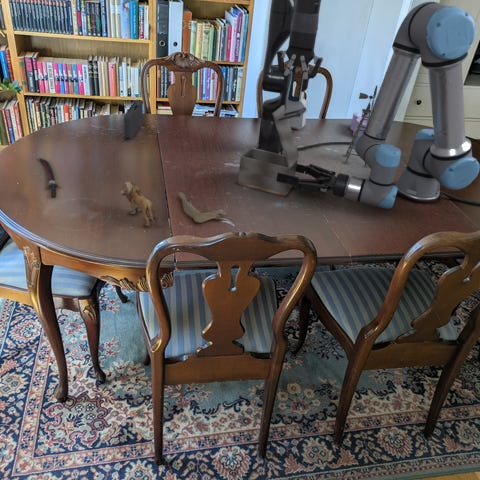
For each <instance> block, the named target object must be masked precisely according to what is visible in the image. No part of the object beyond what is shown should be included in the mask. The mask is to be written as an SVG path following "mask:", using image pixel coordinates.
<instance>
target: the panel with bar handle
mask: <svg viewBox="0 0 480 480" xmlns="http://www.w3.org/2000/svg"><path fill="white" fill-rule="evenodd" d="M305 111H306V112H307V107H303V108H302V109H299V110H296V111H292V112H288V113H286V110H285V106H284V105H282V106H281V107H280V108H278V109H277V110H276V111H275V112H274V113H272V114H273V117H274V120H275V124H276V127H277V130H278V134H279V137H280V140H281V144H282V147H283V150H284V151H283V154H284V155H285V157H286V160H287V163H288V167H289V168H290V167H292V165H293V164H294V163H295V162H296V160H297V159H298V160H299V158H300V154H299V150H297V148H298V147H297V145H296V141H295V137H294V134H293V131H292V130H293V129H292V128H291V127H290V123H289V120H288V119H289V118H293V117H296V116H297V117H300V116H301V115H302V114H303V113H304V112H305ZM294 113H297V114H294ZM291 114H294V115H291ZM287 115H290V116H287Z"/></svg>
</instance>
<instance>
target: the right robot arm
mask: <svg viewBox="0 0 480 480" xmlns="http://www.w3.org/2000/svg"><path fill="white" fill-rule="evenodd" d="M475 38H476V24H475V21H474V19H473V17H472V16H471V14H469V13H468V12H467V11H465V10H463V9H462V8H460V7H457V6H452V5H446V4H442V3H439V2H436V1H424V2H422V3H419V4H418V5H415V6H414V7H413V8H412V9H411V10H410V11H409V12H408V13H407V14H406V16H405V17H404V18H403V20H402V22H401V24H400V26H399V27H398V30H397V32H396V34H395V37H394V40H393V42H392V45H391V49H392V54H391V58H390V60H389V63H388V66H387V68H386V70H385V74H384V76H383V79H382V81H381V85H380V86H379V87H380V88H379V89H378V93H377V94H376V98H375V99H374V100H375V102H374V103H373V107H372V111H371V114H370V116H369V119H368V122H367V124H366V127H365V130H364V132H363V134H361V135H359V136H358V137H357V138H356V139H355V138H354V139H355V141H354V146H353V148H354V149H353V150H354V151H355V153H356V155H358V156H357V157H359V158H360V159H361V160H362V161H363V162H364V164H365V163H366V166H367V167H369V169H370V172H369V175H368V179H366V178H362V177H359V176H355V175H349V174H346V173H341V172H339V173H338V174H337V175H336V171H333V170H328V169H326V168H323V167H320V166H318V165H315V164H313V163H309V164H307V165H304V164H300V163H297V167H296V173H299V174H304V175H309V176H310V177H312V178H299V176H295V177H294V176H290V175H286V174H282V173H278V174H277V181H279V182H283V183H287V184H291V185H293V186H294V188H295V190H296V191H301V192H302V191H303V192H310V193H318V194H322V195H327V192H328V191H331V192H332V196H334V197H338V198H341V199H342V198H345V199H347V200H351V201H352V202H359V203H362V204H365V205H370V206H374V207H376V208H380V209H387V210H389V209H392V208H393V206H394V204H395V201H396V197H397V195H399V196H400V197H402V198H403V199H406V200H409V201H412V202H416V203H422V204H423V203H424V204H430V203H435V202H437V201H438V200H439V198H440V195H443V196H445V197H447V198H450V199H453V200H455V201H457V202H462V203H465V204H470V205H475V206H479V207H480V201H479V202H478V201H474V200H469V199H465V198H461V197H458V196H455V195H453V194H450V193H447V192H445V191H442V190H441V186H442V187H444V188H446V189H447V190H449V191H457V190H461V189H464V188H466V187H467V186H469V185H470V184H472V183H473V182H474V181H475V179H476V178H478V175H479V172H480V163H479V161H478V159H477V158H476V157H473V149H472V148H473V147H472V141H471V140H470V139H469V138H467V137H466V119H465V102H464V101H465V100H464V79H463V62H464V61H466V59H467V58H468V56H469V53H468V51H469V50H470V48H471V45H472V44H473V43H474V41H475ZM419 59H420V62H421V63H420V64H421V66H422V67H423V68H424V69H427V72H428V74H427V75H428V85H429V94H430V104H431V116H432V126H433V127H432V128H423V129H419V130H418V131H417V133H416V135H415V137H414V140H413V144H412V147H411V151H410V154H409V158H408V160H407V164H406V166H405V169H404V171H403V172H402V174H401V175H400V176H399V178H398V179H397V180H396V182H395V181H394V180H395V177H396V175H397V171H398V168H399V165H400V163H401V161H400V160H401V157H402V150H401V148H399V147H398V146H395V145H394V144H393V145H392V144H388V143H385V142H386V139H387V138H388V135H389V133H390V130H391V127H392V125H393V123H394V120H395V117H396V115H397V112H398V110H399V108H400V105H401V103H402V100H403V98H404V96H405V93H406V91H407V88H408V86H409V84H410V81H411V78H412V76H413V73H414V71H415V69H416V67H417V63H418V61H419ZM394 182H395V185H394Z"/></svg>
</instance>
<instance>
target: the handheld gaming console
mask: <svg viewBox="0 0 480 480" xmlns="http://www.w3.org/2000/svg"><path fill="white" fill-rule="evenodd" d="M143 107H144V105H143V100H142V99H136V100H135V101H134V102H133V103H132V104H131V106H130V107H129V108H128V109H127V111H126V113H125V114H124V115H123V116H124V117H123V125H124V126H123V127H124V128H123V129H124V139H125V140H128V141H129V140H130V141H132V139H133V138H134V137H135V135H136V133H137V132H138V131H139V129H140V128H141V126H142V124H143V120H144V113H143V112H144V111H143Z"/></svg>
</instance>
